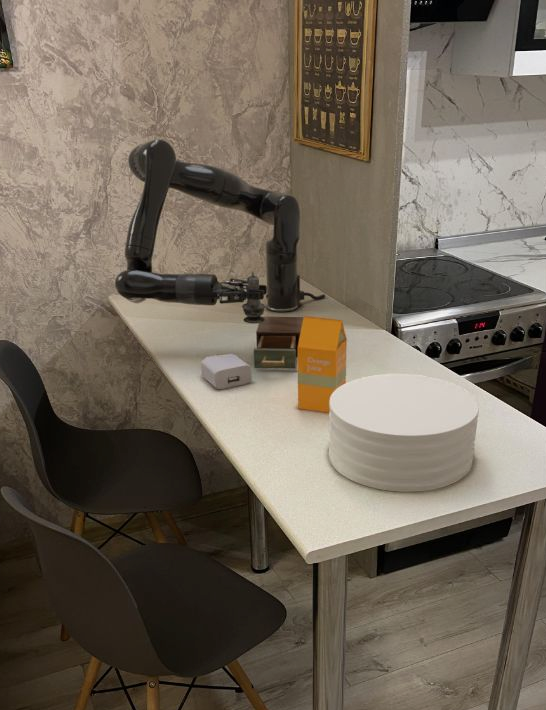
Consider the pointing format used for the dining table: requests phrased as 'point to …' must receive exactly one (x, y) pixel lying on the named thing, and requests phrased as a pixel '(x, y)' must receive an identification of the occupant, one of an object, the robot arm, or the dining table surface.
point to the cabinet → (280, 327)
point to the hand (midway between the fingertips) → (264, 292)
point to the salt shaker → (253, 303)
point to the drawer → (275, 352)
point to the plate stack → (402, 431)
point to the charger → (225, 371)
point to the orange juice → (320, 362)
